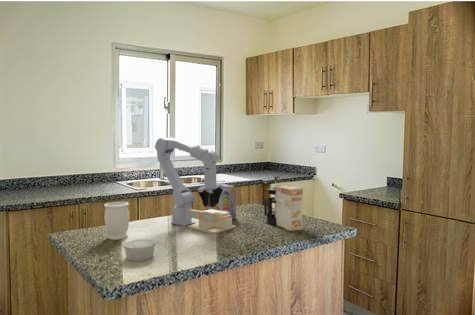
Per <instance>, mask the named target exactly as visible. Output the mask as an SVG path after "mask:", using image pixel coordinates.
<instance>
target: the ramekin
mask: <svg viewBox="0 0 475 315" xmlns="http://www.w3.org/2000/svg"><path fill="white" fill-rule="evenodd" d="M155 246H156V242H155V241H154V240H152V239H147V238H145V239H143V238H142V239H141V238H140V239H135V240H129V241H127V242H125V243H124V244H123V249H124V253H125V256H126V258H127V260H129V261H132V262H143V261H147V260H150V259H152V257H153V256H154V254H155Z"/></svg>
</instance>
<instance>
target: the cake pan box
mask: <svg viewBox="0 0 475 315" xmlns="http://www.w3.org/2000/svg"><path fill="white" fill-rule="evenodd" d="M216 184H222V188H221V189H223V191H222V193H221V195H220V199H219V203H218V204H214V196H213V192H212V190H208V191H207V192H209V197H208V206H207V208H208V210H210V209H214V210H219V211H225V212H230V215H232V217H231V218H232V220H237V205H236V204H237V203H236V186H235V185H231V184H226V183H221V182H219V183H218V182H216Z"/></svg>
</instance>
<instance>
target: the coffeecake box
mask: <svg viewBox="0 0 475 315" xmlns="http://www.w3.org/2000/svg"><path fill="white" fill-rule="evenodd" d="M274 188H275V190H276V195H274V197H275V200H276V203H274V208H275V212H276V213H274V214H275V218H276V224H277V225H276V226H278V227H281V228H283V229H285V230H287V231H289V232H293V231H301V230H303V214H304V213H303V212H304V211H303V209H304V207H303V206H304V203H303V199H304V194H303V192H304V188H303V187H298V186H294V185H291V184H287V183H285V184H283V183H282V184H276V185H275V184H274Z"/></svg>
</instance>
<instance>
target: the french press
mask: <svg viewBox="0 0 475 315" xmlns="http://www.w3.org/2000/svg"><path fill="white" fill-rule="evenodd" d="M271 179H274V181H275V182H274V186H275V185H277V179H280V176H271ZM266 191H267V195H274V196H273V197H272V196H271V197H265V198H264V200H263V201H264V205H263V206H264V207H263V208H264V211H263V212H264V216H265V217H266V223H265V224H267V225H271V226H278V225H277V224H276V218H275V213H276V212H275V207H273V204H275V203H276V200H275V195H276V190H275V187H268V188H266Z"/></svg>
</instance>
